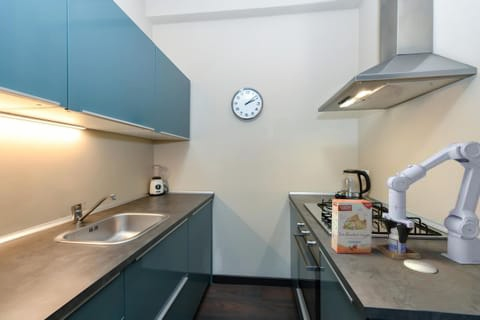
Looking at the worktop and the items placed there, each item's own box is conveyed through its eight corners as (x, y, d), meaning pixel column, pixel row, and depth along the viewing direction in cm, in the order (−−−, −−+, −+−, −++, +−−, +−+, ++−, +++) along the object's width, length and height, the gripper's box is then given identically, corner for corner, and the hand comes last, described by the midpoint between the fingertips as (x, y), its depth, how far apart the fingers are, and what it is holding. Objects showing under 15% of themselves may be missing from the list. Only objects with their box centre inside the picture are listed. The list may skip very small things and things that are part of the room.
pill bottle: (401, 251, 91) (401, 228, 91) (407, 257, 86) (408, 232, 86) (386, 250, 93) (386, 226, 93) (391, 255, 87) (391, 230, 87)
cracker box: (337, 254, 89) (337, 201, 89) (331, 248, 95) (331, 198, 95) (372, 254, 89) (372, 201, 89) (363, 248, 95) (364, 198, 95)
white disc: (421, 261, 83) (421, 259, 83) (444, 273, 74) (444, 271, 74) (397, 261, 83) (397, 259, 83) (417, 273, 74) (417, 271, 74)
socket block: (399, 248, 95) (399, 243, 95) (420, 259, 84) (420, 254, 84) (375, 248, 94) (375, 243, 94) (393, 259, 84) (393, 254, 84)
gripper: (375, 202, 96) (375, 234, 96) (401, 210, 82) (400, 247, 82) (391, 202, 97) (391, 234, 97) (419, 210, 82) (419, 247, 82)
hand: (396, 240), depth 89 cm, fingers closed on pill bottle, 5 cm apart
